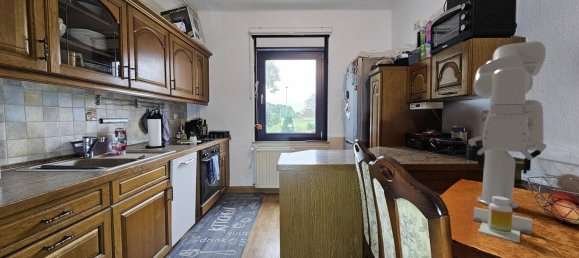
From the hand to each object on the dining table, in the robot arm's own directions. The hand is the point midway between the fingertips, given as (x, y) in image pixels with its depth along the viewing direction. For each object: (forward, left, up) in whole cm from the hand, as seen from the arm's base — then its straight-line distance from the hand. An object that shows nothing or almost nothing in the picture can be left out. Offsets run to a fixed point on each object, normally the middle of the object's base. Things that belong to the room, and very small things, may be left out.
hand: (502, 170), depth 75 cm
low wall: (-6, 0, -18) cm, 19 cm away
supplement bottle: (0, 0, -18) cm, 18 cm away
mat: (+1, 0, -18) cm, 18 cm away
